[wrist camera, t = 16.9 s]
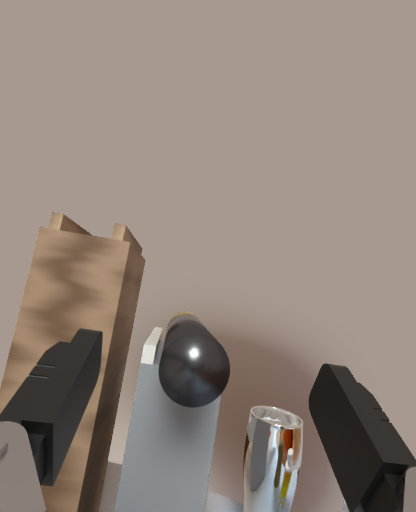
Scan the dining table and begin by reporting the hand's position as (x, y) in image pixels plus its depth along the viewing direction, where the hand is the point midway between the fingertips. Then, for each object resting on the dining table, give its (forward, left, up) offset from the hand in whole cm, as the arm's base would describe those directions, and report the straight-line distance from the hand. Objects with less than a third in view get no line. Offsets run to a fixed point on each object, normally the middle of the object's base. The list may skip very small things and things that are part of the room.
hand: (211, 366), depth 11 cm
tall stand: (-11, +23, -26) cm, 36 cm away
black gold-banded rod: (0, +17, -4) cm, 18 cm away
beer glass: (+13, +28, -26) cm, 40 cm away
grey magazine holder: (0, +22, -26) cm, 34 cm away
